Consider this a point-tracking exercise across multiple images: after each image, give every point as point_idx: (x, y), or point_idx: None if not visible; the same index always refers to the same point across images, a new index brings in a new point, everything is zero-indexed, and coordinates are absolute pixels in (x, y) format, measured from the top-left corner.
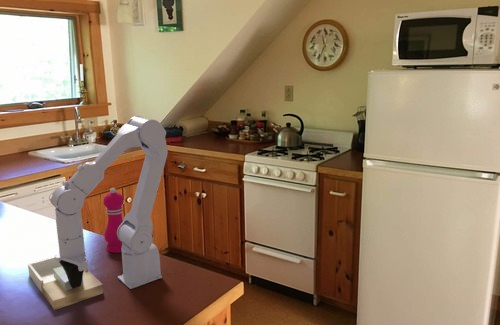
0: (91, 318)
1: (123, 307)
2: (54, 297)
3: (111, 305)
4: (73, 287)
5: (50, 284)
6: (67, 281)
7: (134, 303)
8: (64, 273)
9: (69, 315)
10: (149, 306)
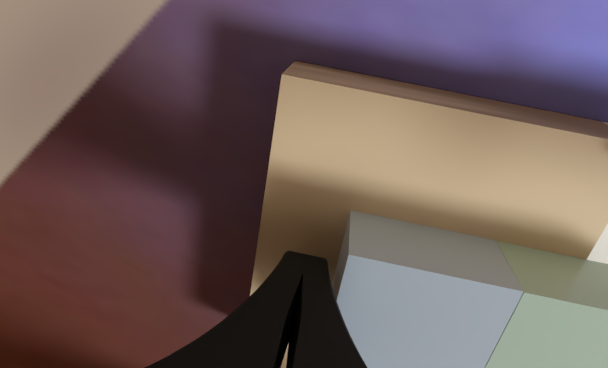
0: (53, 158)
1: (59, 300)
2: (327, 108)
3: (112, 282)
4: (281, 259)
5: (561, 196)
6: (344, 276)
7: (63, 342)
8: (503, 336)
9: (164, 94)
10: (3, 356)
